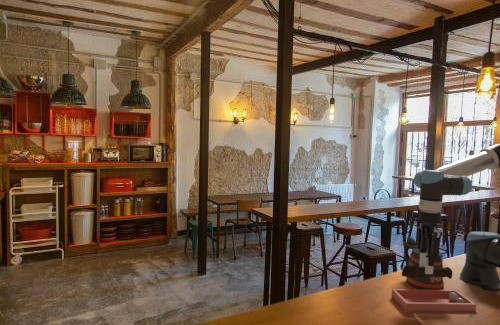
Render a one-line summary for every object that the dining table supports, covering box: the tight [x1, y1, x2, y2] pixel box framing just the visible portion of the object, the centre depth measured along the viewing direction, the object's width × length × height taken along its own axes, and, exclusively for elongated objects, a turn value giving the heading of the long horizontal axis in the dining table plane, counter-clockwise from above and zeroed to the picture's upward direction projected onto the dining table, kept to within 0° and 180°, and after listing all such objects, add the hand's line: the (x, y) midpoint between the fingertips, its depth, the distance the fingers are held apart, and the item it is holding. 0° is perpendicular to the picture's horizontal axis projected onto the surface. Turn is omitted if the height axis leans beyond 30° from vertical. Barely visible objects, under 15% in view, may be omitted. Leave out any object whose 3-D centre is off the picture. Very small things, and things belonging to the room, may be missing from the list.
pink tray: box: [391, 288, 477, 314], centre depth 129 cm, size 26×12×4 cm, turn 91°
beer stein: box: [402, 236, 445, 290], centre depth 145 cm, size 19×15×20 cm
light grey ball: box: [449, 292, 458, 301], centre depth 131 cm, size 3×3×3 cm
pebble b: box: [455, 298, 465, 303], centre depth 127 cm, size 3×3×3 cm
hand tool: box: [401, 264, 453, 280], centre depth 129 cm, size 19×4×5 cm, turn 92°
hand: (425, 271), depth 128 cm, fingers closed on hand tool, 3 cm apart
